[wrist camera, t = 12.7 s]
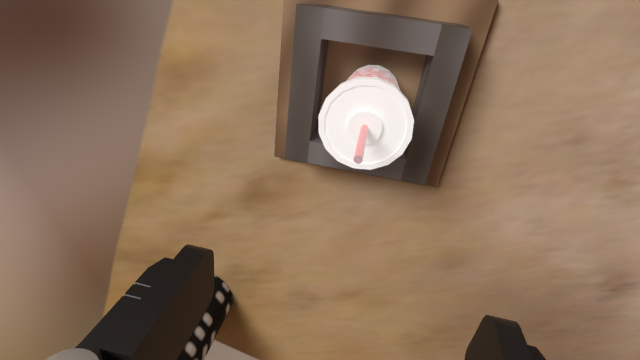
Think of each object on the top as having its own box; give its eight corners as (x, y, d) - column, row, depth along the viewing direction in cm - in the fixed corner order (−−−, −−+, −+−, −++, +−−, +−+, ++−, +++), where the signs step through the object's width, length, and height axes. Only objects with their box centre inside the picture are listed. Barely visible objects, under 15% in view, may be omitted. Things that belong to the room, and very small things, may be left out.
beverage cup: (359, 137, 32) (339, 225, 20) (323, 80, 30) (277, 139, 18) (421, 104, 30) (441, 180, 18) (385, 39, 28) (381, 75, 16)
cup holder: (495, -2, 26) (515, -1, 22) (435, 182, 34) (442, 209, 30) (288, -30, 28) (269, -34, 24) (277, 152, 36) (261, 174, 31)
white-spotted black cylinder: (244, 306, 48) (160, 486, 30) (199, 319, 51) (99, 489, 33) (208, 262, 45) (93, 432, 28) (163, 278, 48) (34, 440, 31)
